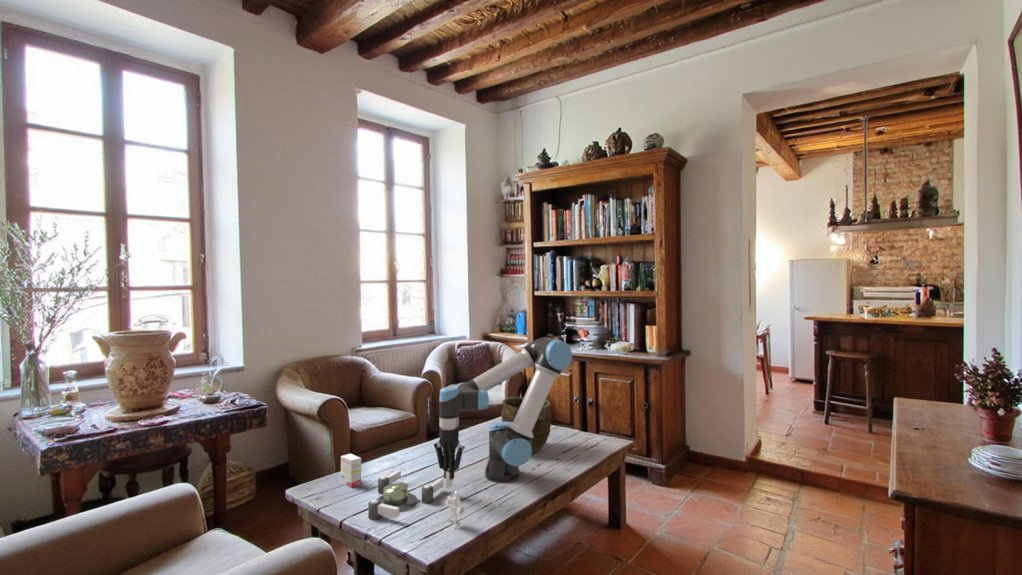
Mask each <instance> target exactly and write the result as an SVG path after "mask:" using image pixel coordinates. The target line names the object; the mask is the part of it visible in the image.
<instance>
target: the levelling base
mask: <svg viewBox="0 0 1022 575" xmlns="http://www.w3.org/2000/svg"><path fill="white" fill-rule="evenodd" d="M408 487H409V486H408V485H407V484H405V483H402V482H401V483H399V482H393V483H392V484H390V485H387V486H385V487H384V489H383V494H381V495H380V496H378V497H377V498H376V499H375V500H380V501H381V503H382V504H386V505H391V506H395V507H399V513H401V512H403V511H408V510H410V509H412V508H414V507H415V505H417V503H420V502H421V500H420V499H418V497H417V496H416V495H415V494H413V493H411V492H408V491H409V489H408Z"/></svg>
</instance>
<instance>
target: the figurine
mask: <svg viewBox="0 0 1022 575" xmlns="http://www.w3.org/2000/svg"><path fill="white" fill-rule="evenodd" d="M445 505H447V506H448V508H449V511H450V512H451V513H450V514H448V516H445V519H446V521H447V522H451V518H452V517H453V526H455V527H454V529H453V530H459V529H461V525H460V524H457V521H458V516H459V515H458V513H459V514H460V515H461V516H463V515H465V511H466V507H465V506H461V507H459V506H460V505H461V498H460V491H457V490H456V491H455V492H454V496H453V497H452V496H451V495H447V498H446V502H445ZM457 512H458V513H457Z"/></svg>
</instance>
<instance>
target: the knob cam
mask: <svg viewBox="0 0 1022 575" xmlns="http://www.w3.org/2000/svg"><path fill="white" fill-rule="evenodd" d="M367 505H368V508H367V509H368V511H367V512H368V519H369V520H372V521H373V520H374V521H375V520H379V519H381V517H382V516H385V517H389V518H393V519H397V518H398V517H400V512H399V507H395V506H391V505H386V504H382V503H381V501H380V500H376V499H373V500H370V501H369V502H368V504H367Z"/></svg>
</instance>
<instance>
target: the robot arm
mask: <svg viewBox="0 0 1022 575" xmlns="http://www.w3.org/2000/svg"><path fill="white" fill-rule="evenodd" d="M572 359H573V352H572V349H571V347H570V345H568V343H567V342H565V341H563V340H560V339H556V338H552V337H548V336H544V337H540V338H538V339H535V340H533V341H532V342H530V343H527V345H525V346H523V347H521V349H520V351H519V352H518V353H515V354H514V355H512V356H511V357H509V358H507V359H506V360H504V361H502V362H500V363H498V364H496V365H495V366H493V367H492V368H490V369H488V370H486V371H485V372H483V373H481V374H479V375H478V376H476V377H475V378H473V379H471V380H468V381H467V382H460V383H458V384H457V386H446V387H445V386H444V387H442V388H441V389H440V390H439V399H438V400H439V427H440V428H439V435H438V436H439V439H438V442H435V443H433V446H434V449H435V453H436V456H437V461H438V468H439V469H441V470H443V480H444V479H445V489H450V488H452V487H453V482H454V479H455V472H456V471H458V470H459V468H460V466H461V461H462V455H463V452H464V451H465V446H464V445H461V444H460V441H459V438H460V427H459V425H460V423H459V422H460V421H459V420H460V419H459V418H460V412H467V411H469V412H470V411H482V410H486V409H488V407H489V404H490V398H489V396H490V395H489V392H488V391H490V390H492V389H493V388H494V387H497V386H498V385H499V384H500V385H501V384H502V383H503V382H505V381H508V379H509V380H510V378H512V377H514V376H516V375H517V374H519V373H520V372H522V371H524V370H525V369H528V368H533V367H535V372H534V373H533V376H532V379H531V380H530V383H529V386H528V388H527V390H526V392H525V394H524V396H523V397H524V399H523V401H522V403H521V406H520V408H519V410H518V413H517V415H516V417H515V419H514V422H502V421H498V422H497V421H496V422H493V423H490V425H489V426H488V427H489V428H488V429H489V430H488V460H487V464H486V466H485V470H484V477H485V479H486V480H489V481H491V482H494V483H509V482H513V481H516V480H518V479H519V478H520V472H521V470H520V467H519V466H522V465H525V464H526V463H527V462H528V461H529V460H530V458H531V456H532V454H533V453H532V448H531V445H530V444H531V442H532V440H533V437H534V436H533V434H532V430H533V428H534V426H535V423H536V421H537V419H538V416H539V414H540V412H541V409H542V407H543V405H544V402H545V400H547V397H548V395H549V393H550V390H551V388H552V386H553V383H554V381H555V379H556V378H558V377H561V374H562V372H563V370H565V369H566V368H568V367H569V366H570V365H571V363H572ZM456 451H457V452H456Z"/></svg>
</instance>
